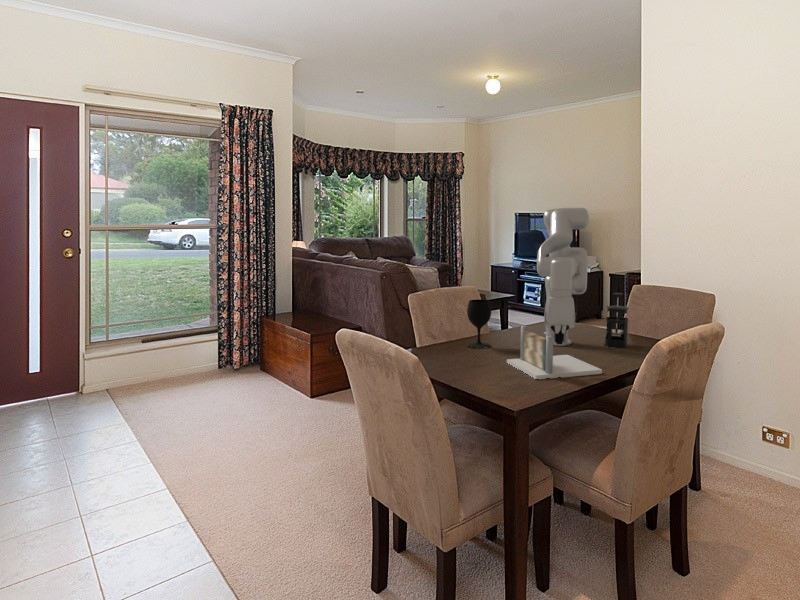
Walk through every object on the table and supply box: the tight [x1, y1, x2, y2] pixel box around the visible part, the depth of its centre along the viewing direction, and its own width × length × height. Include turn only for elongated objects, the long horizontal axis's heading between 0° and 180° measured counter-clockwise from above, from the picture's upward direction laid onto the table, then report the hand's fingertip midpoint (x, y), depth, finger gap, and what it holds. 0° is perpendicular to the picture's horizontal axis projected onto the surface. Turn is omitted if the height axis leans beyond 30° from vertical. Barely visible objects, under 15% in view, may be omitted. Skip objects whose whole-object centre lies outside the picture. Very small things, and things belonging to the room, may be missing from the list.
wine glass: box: [466, 299, 492, 349], centre depth 240 cm, size 10×10×20 cm
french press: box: [603, 292, 630, 349], centre depth 238 cm, size 12×9×23 cm
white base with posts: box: [506, 325, 603, 380], centre depth 203 cm, size 23×26×14 cm
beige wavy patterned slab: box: [524, 330, 546, 370], centre depth 202 cm, size 16×2×11 cm, turn 14°
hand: (558, 343), depth 200 cm, fingers closed
